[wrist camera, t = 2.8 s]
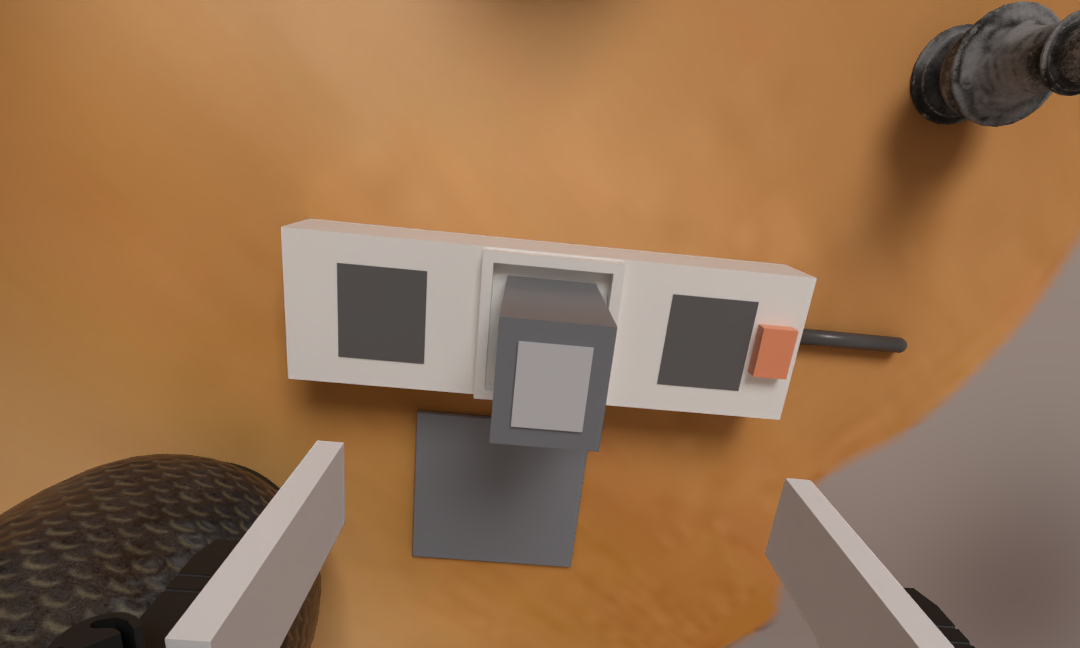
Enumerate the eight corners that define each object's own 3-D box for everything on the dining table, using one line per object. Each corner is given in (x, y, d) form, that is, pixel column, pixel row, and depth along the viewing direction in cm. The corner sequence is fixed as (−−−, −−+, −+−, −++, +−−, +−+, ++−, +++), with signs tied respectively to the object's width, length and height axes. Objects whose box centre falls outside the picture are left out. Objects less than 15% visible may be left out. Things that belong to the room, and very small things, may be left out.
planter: (392, 604, 42) (285, 948, 24) (155, 643, 43) (-124, 1005, 24) (312, 378, 36) (87, 607, 18) (39, 429, 37) (-442, 697, 19)
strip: (314, 354, 35) (282, 384, 31) (310, 218, 33) (273, 228, 28) (879, 402, 37) (928, 437, 32) (920, 277, 34) (979, 296, 30)
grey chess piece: (884, 79, 31) (1094, 34, 19) (970, -7, 29) (1249, -109, 18) (943, 151, 32) (1172, 148, 21) (1028, 72, 31) (1322, 22, 19)
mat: (413, 552, 40) (412, 556, 40) (418, 410, 37) (417, 412, 36) (570, 563, 41) (570, 567, 40) (590, 424, 37) (590, 427, 37)
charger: (499, 373, 32) (489, 444, 24) (507, 275, 30) (499, 317, 22) (582, 380, 32) (599, 453, 24) (595, 283, 30) (618, 328, 22)
